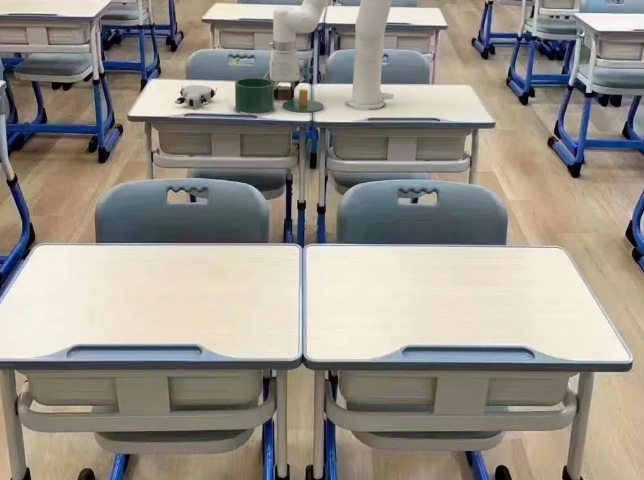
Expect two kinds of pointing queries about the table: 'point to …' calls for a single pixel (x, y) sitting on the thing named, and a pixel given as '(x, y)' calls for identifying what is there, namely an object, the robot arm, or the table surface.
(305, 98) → the lid
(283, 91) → the block
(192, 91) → the robot toy
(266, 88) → the tin
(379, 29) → the robot arm
